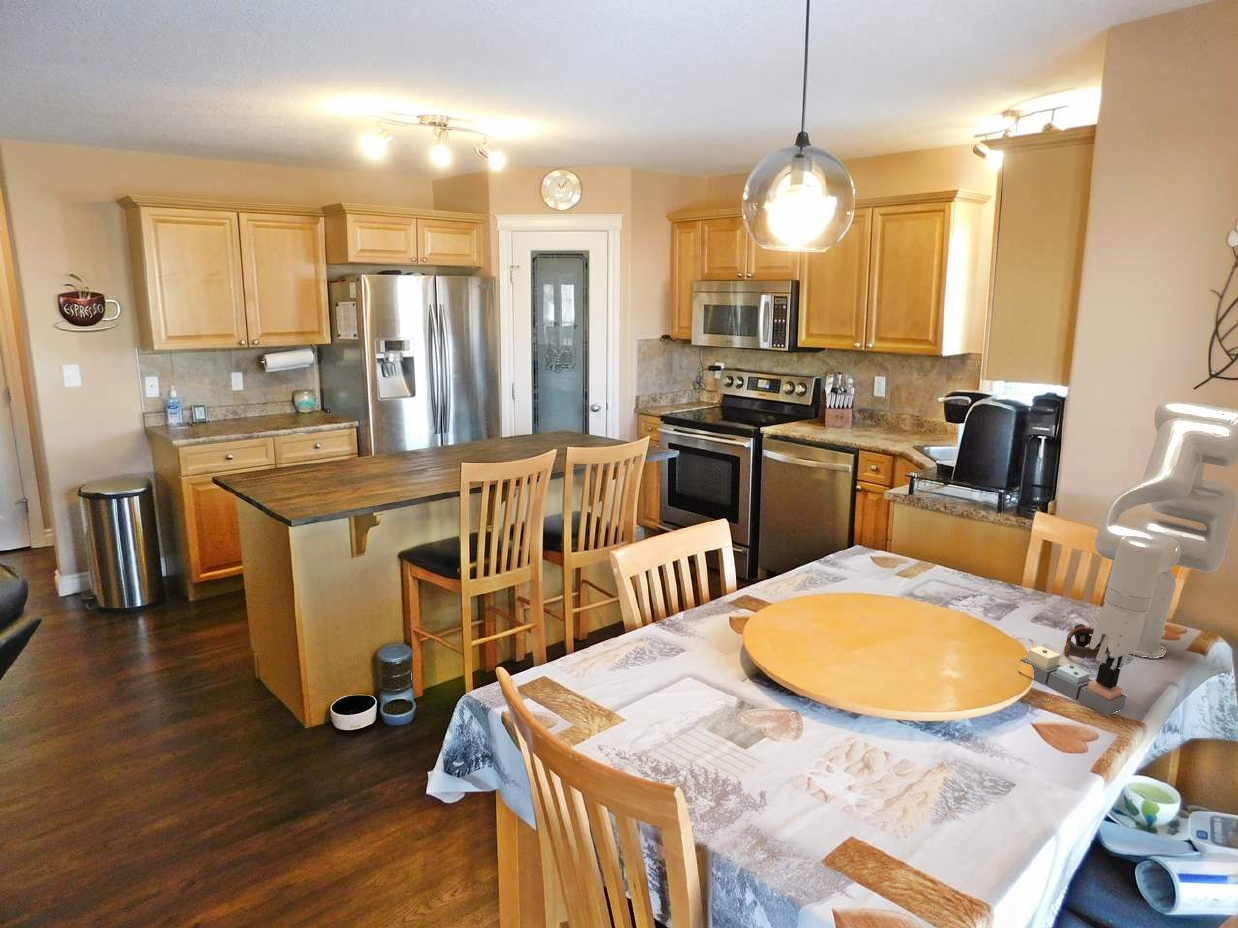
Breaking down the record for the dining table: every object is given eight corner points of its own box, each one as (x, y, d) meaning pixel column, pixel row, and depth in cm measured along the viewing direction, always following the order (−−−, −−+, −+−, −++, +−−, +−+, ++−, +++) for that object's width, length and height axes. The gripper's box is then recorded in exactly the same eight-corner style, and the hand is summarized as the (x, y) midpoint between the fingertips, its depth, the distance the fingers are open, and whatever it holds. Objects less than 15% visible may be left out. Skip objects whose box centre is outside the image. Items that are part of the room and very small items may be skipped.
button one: (1036, 662, 176) (1041, 644, 175) (1056, 671, 172) (1060, 653, 171) (1025, 666, 174) (1029, 648, 172) (1044, 675, 170) (1049, 657, 169)
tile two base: (1062, 680, 172) (1065, 667, 171) (1091, 693, 167) (1094, 680, 166) (1046, 685, 169) (1050, 672, 168) (1075, 699, 164) (1078, 686, 163)
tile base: (1093, 694, 167) (1096, 681, 166) (1123, 709, 162) (1127, 695, 161) (1077, 701, 164) (1080, 687, 163) (1107, 715, 159) (1111, 702, 158)
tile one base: (1034, 666, 177) (1036, 654, 177) (1060, 679, 172) (1063, 666, 172) (1018, 671, 174) (1021, 659, 173) (1044, 684, 169) (1047, 671, 168)
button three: (1095, 695, 166) (1100, 676, 164) (1117, 706, 162) (1122, 687, 161) (1084, 700, 163) (1088, 681, 162) (1106, 711, 160) (1111, 691, 159)
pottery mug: (1121, 671, 180) (1116, 645, 176) (1077, 682, 182) (1071, 656, 179) (1097, 636, 190) (1092, 610, 187) (1055, 646, 193) (1049, 621, 189)
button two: (1064, 681, 171) (1069, 662, 170) (1085, 690, 167) (1090, 672, 166) (1053, 685, 168) (1057, 666, 167) (1073, 695, 165) (1078, 676, 164)
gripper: (1127, 587, 164) (1106, 669, 168) (1087, 597, 156) (1066, 682, 161) (1167, 601, 158) (1144, 685, 162) (1128, 612, 150) (1105, 701, 154)
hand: (1105, 684), depth 161 cm, fingers closed
